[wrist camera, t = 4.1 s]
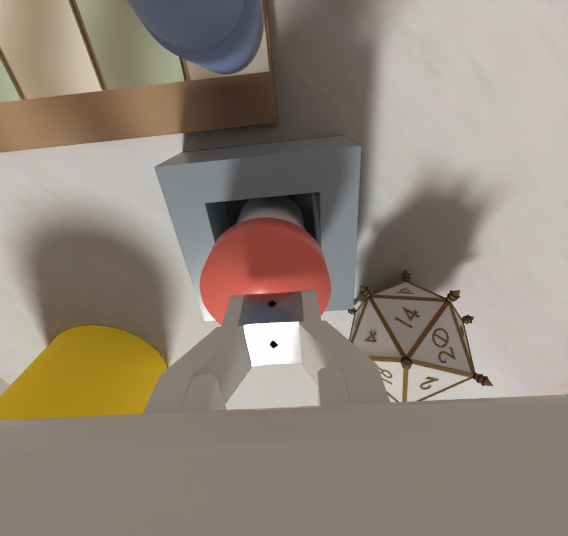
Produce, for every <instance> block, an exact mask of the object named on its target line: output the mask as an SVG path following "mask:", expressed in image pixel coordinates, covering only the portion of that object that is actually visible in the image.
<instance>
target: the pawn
mask: <svg viewBox="0 0 568 536" xmlns="http://www.w3.org/2000/svg"><path fill="white" fill-rule="evenodd" d="M127 1H128V3H129V4H130V6H131V8H132V9H133V11H134V12H135V13H136V15H137V16H138V17H139V19H140V20H141V22H142V23H143V25H144V26H145V28H146V29H147V31H148V32H149V33H150V34H151V35H152V37H153V38H154V39H155V40H156V41H157V42H158V43H159V44H160V45H162V46H163V47H164V48H165V49H167V50H168V51H170V52H171V53H173V54H175V55H177V56H179V57H181V58H183V59H185V60H188V61H190V62H192V63H194V64H196V65H199V66H201V67H203V68H205V69H208V70H210V71H212V72H214V73H218V74H224V75H227V74H234V73H237V72H239V71H241V70H243V69H244V68H246V67H247V66H248V65H249V64H250V63H251V62H252V61H253V59H254V58H255V56H256V54H257V53H258V50H259V48H260V45H261V41H262V36H263V16H262V9H261V3H260V0H127Z"/></svg>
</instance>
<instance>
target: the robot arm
mask: <svg viewBox="0 0 568 536" xmlns="http://www.w3.org/2000/svg"><path fill="white" fill-rule="evenodd" d="M285 363H302V365H303V366H304V368H305V369H306V370H307V372H308V373H309V375H310V376H311V377H312V379H313V380H314V381H315V383H316V384H317V385H318V406H303V407H281V408H259V409H237V410H227V409H226V406H225V404H226V402H227V401H228V400H229V398H230V397H231V395H232V394H233V393H234V391H235V390H236V388H237V387H238V386H239V384H240V383H241V382H242V380H243V379H244V377H245V376H246V375H247V373H248V372H249V370H250V369H251V368H252V366H255V365H267V364H285ZM0 536H568V394H567V395H547V396H523V397H501V398H479V399H457V400H434V401H412V402H390V400H389V397H388V394H387V391H386V388H385V385H384V382H383V380H382V377H381V374H380V371H379V368H378V365H377V364H376V363H375V362H374V361H373V360H371V359H370V358H369V357H368V356H367V355H366V354H364V353H363V352H362V351H361V350H360V349H358V348H357V347H356V346H355V345H354V344H353V343H351V342H350V341H349V340H348V339H347V338H345V337H344V336H343V335H342V334H341V333H340V332H338V331H337V330H336V329H335V328H334V327H332V326H331V325H330V324H329V323H328V322H326V321H321V317H320V311H319V305H318V299H317V293H316V290H315V289H314V290H303V291H297V292H283V293H261V294H246V295H245V294H241V295H231V296H230V298H229V301H228V304H227V308H226V311H225V315H224V319H223V322H222V326H221V327H217V328H215V329H214V330H213V331H212V332H211V333H209V334H208V335H207V336H206V337H205V338H204V339H202V340H201V341H200V342H199V343H198V344H197V345H195V346H194V347H193V348H192V349H191V350H189V351H188V352H187V353H186V354H185V355H184V356H182V357H181V358H180V359H179V360H178V361H177V362H175V363H174V364H173V365H172V366H171V367H170V368H168V369H167V370H166V371H165V372H164V373H162V374H161V375H160V377H159V379H158V381H157V384H156V386H155V388H154V390H153V392H152V395H151V397H150V399H149V401H148V403H147V406H146V408H145V410H144V412H143V414H128V415H106V416H84V417H63V418H41V419H19V420H0Z"/></svg>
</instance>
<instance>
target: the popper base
mask: <svg viewBox="0 0 568 536" xmlns="http://www.w3.org/2000/svg"><path fill="white" fill-rule="evenodd" d="M360 163H361V145H359V144H357V143H356V142H354V141H352V140H350V139H348V138H347V137H345V136H343V135H342V136H333V137H323V138H313V139H304V140H294V141H285V142H275V143H266V144H256V145H247V146H237V147H227V148H218V149H208V150H199V151H189V152H182V153H180V154H178V155H176V156H174V157H172V158H170V159H168V160H167V161H165V162H163V163H161V164H159V165H157V166H155V167H154V168H155V171H156V174H157V177H158V180H159V183H160V186H161V189H162V192H163V195H164V198H165V202H166V205H167V208H168V211H169V214H170V217H171V220H172V223H173V226H174V229H175V232H176V235H177V238H178V241H179V244H180V247H181V250H182V254H183V257H184V260H185V263H186V266H187V269H188V272H189V275H190V278H191V281H192V284H193V287H194V290H195V293H196V296H197V299H198V302H199V305H200V309H201V312H202V315H203V318H204V321H211V320H215V319H214V318H213V317H212V316H211V315H210V313H209V312H208V311H207V309H206V307H205V305H204V303H203V301H202V298H201V294H200V285H199V284H200V276H201V272H202V269H203V267H204V265H205V263H206V260H207V258H208V256H209V254H210V252H211V250H212V247H213V245H214V244H215V242H216V241H217V239H218V238H219V237H220V236H221V235H222V234H223V233H224V232H225V231H226V230H227V229H229V228H230V224H229V219H228V214H227V210H226V205H225V201H232V200H242V199H252V198H263V197H273V196H283V195H294V194H304V193H312V197H313V222H314V239H315V240H316V241H317V243H318V244H319V246H320V248H321V250H322V252H323V255H324V258H325V262H326V265H327V269H328V272H329V276H330V280H331V295H330V299H329V303H328V305H327V307H326V309H325V311H335V310H347V309H353V305H354V285H355V265H356V244H357V224H358V204H359V183H360Z"/></svg>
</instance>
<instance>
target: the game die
mask: <svg viewBox="0 0 568 536" xmlns="http://www.w3.org/2000/svg"><path fill="white" fill-rule="evenodd" d="M402 276H403V277H402V279H403V282H401V283H398V284H395V285H393V286H390V287H388V288H385V289H383V290H380V291H377V292H375V293H372V294H371V293H370V290H369V289H368V287H363V286H360V288H361V291H360V293H362V295H364V296H366V297H367V298H366V299H365V300H364V301H363V303H362V304H361V305H360V307H359V308H358V309H357V310H356V309H354V308H353V309H348V313H351V314H354V319H353V323H352V328H351V333H350V338H349V341H350V342H351V343H353V344H354V345H355V346H356V347H357V348H358V349H360V350H361V351H362V352H363V353H364V354H366V355H367V356H368V357H369V358H370V359H371V360H373V361H374V362H375V363H376V364H377V365H378V368H379V371H380V374H381V377H382V380H383V382H384V385H385V388H386V391H387V394H388V395H389V396H390V397H391V398H393V399H394V400H395V401H396V402H412V401H423V400H425V399H427V398H429V397H432V396H434V395H436V394H438V393H441V392H443V391H445V390H447V389H450V388H452V387H454V386H456V385H459V384H461V383H463V382H465V381H467V380H470V379H472V378H473V379H475V380H476V381H477V383H481V384H482V386H484V385H486V386H493V385H492V384H491V382H490V381H489V379H488V378H487V376H486V377H485V376H483V374H481V375H480V374H477V373H475V370H474V365H473V361H472V357H471V352H470V348H469V343H468V339H467V335H466V330H465V326H464V323H466V324H468V323H472V320H473V318H474V317H472V316H469V315H467V316H464V317H462V319H461V317H460V315H459V314H458V312H457V311H456V309H455V308H454V306H453V304H452V303H451V302H452V301H453V302H454V301H455V300H457V299H458V298H459V297H460V296H459V293H460V290H457V291H450V293H449V294H447V298H445V297H442V296H440V295H438V294H436V293H433V292H431V291H429V290H426V289H424V288H422V287H419V286H417V285H415V284H413V283H410V282H409V281H408V280H409V279H410V277H409V276H410V274H409V273H408V272H407V271H405V272H404V273H403V274H402Z"/></svg>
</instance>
